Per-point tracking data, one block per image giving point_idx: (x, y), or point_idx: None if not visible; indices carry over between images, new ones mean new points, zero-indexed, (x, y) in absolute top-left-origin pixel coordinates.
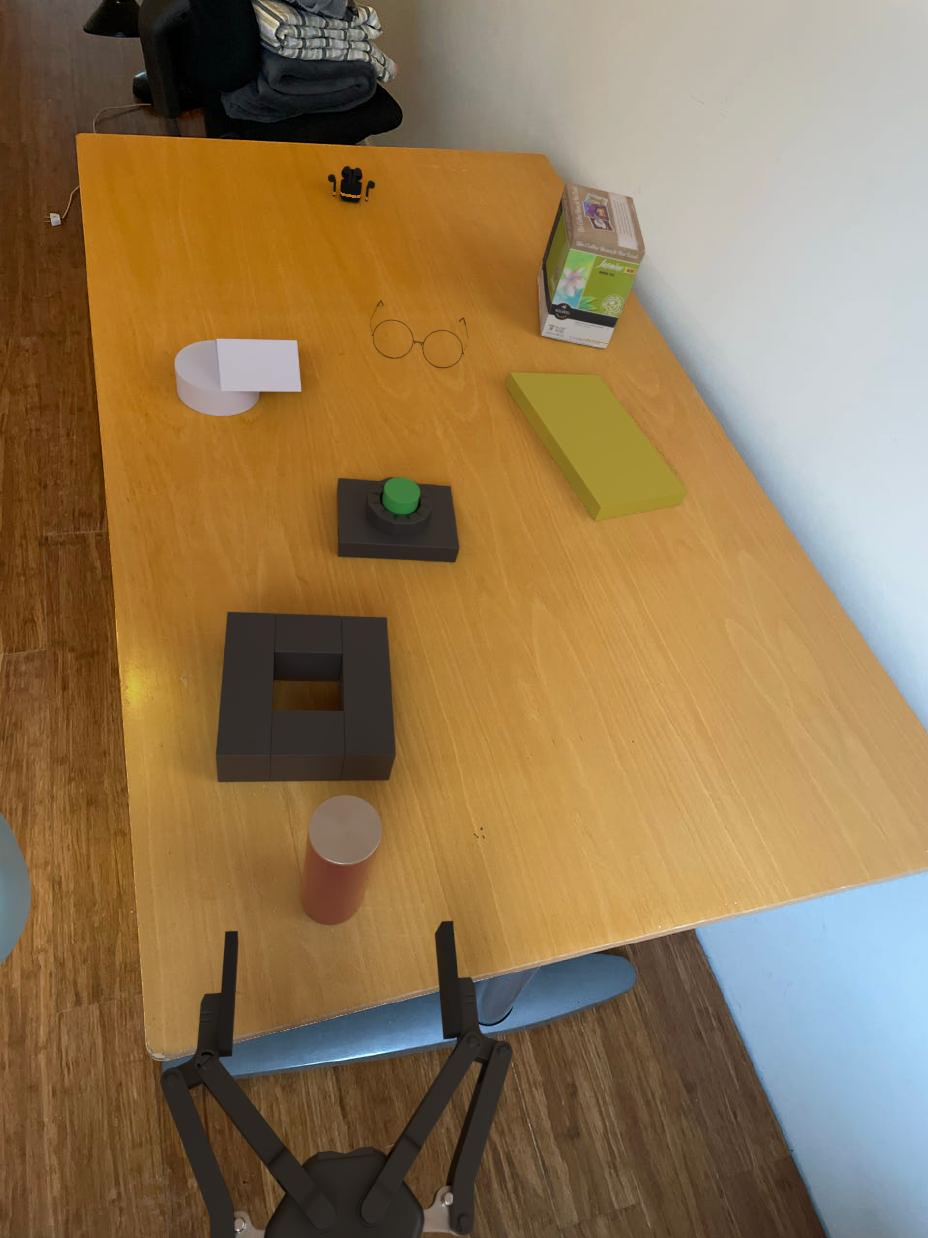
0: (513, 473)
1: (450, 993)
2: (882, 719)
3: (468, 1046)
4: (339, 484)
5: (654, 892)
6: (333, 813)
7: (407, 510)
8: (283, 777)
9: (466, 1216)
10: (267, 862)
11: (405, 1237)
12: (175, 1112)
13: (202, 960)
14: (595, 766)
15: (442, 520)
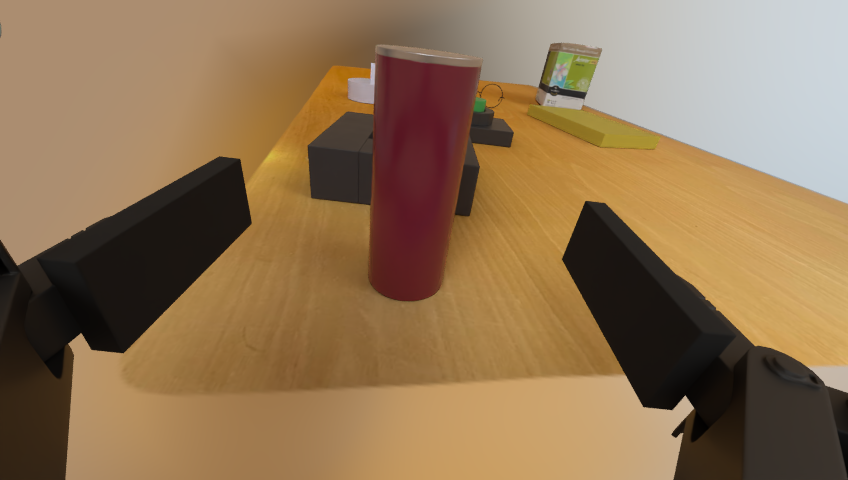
0: (540, 131)
1: (653, 272)
2: None
3: (781, 378)
4: None
5: (819, 331)
6: (413, 48)
7: (477, 109)
8: (370, 197)
9: None
10: (339, 245)
11: None
12: None
13: (223, 308)
14: (669, 234)
15: (500, 125)
